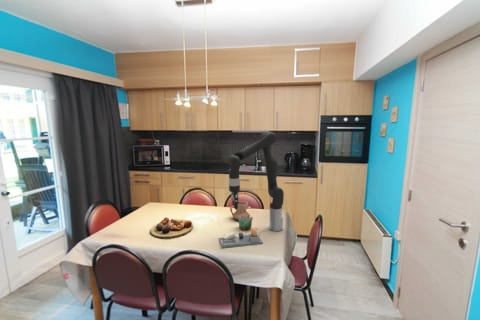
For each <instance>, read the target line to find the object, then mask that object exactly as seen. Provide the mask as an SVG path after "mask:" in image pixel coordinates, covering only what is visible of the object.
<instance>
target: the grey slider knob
mask: <svg viewBox="0 0 480 320" xmlns="http://www.w3.org/2000/svg"><path fill="white" fill-rule="evenodd" d="M238 234H239V233H235V243H238V242H239V235H238Z"/></svg>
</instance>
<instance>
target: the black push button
mask: <svg viewBox="0 0 480 320" xmlns="http://www.w3.org/2000/svg"><path fill="white" fill-rule="evenodd" d="M237 234H238V235H239V239H242V238H243V235H244V233H242V232H239V233H237Z"/></svg>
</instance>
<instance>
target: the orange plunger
mask: <svg viewBox="0 0 480 320" xmlns="http://www.w3.org/2000/svg"><path fill="white" fill-rule="evenodd" d="M250 231H251V233H250V234H251V236H252V237H256V236H257V234H258V233H257V232H258V231H257V228H256V227H251V229H250Z"/></svg>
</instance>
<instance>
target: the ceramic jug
mask: <svg viewBox="0 0 480 320" xmlns="http://www.w3.org/2000/svg"><path fill="white" fill-rule="evenodd" d="M238 202H239V203H238V209H235V208H234V205H232V206H230V208H229V210H230V213H231V216H232V218H233V219H235V221H239V219H238V215H239V216H247V217H251V214H250V213H249V211H247V209H251V206H249V202H248V201H245V200H244V201H243V200H242V201H241V200H238ZM233 209H234V210H235V211H234V212H233Z"/></svg>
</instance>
